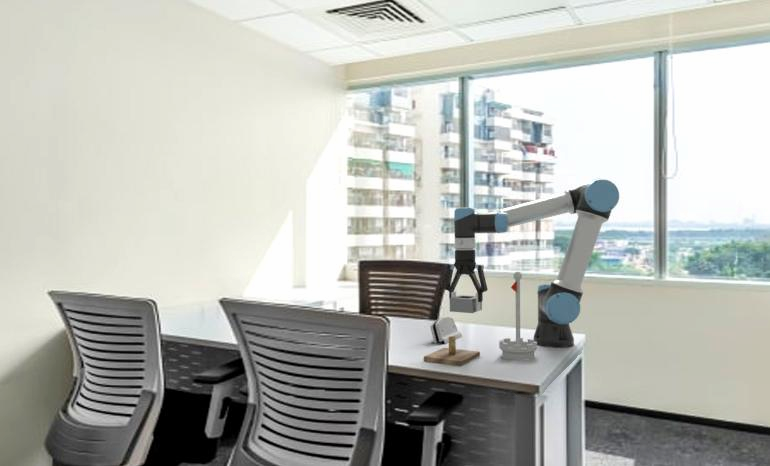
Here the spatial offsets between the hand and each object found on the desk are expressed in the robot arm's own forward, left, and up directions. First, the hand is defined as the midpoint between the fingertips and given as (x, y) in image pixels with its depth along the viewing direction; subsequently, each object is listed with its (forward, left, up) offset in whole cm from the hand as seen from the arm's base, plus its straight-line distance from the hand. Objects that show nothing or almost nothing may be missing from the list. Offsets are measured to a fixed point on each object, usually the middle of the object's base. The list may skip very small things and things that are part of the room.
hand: (465, 309), depth 215 cm
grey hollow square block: (0, 0, 0) cm, 0 cm away
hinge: (+15, -14, -15) cm, 26 cm away
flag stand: (-20, 0, -15) cm, 25 cm away
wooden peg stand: (-1, +14, -15) cm, 21 cm away
